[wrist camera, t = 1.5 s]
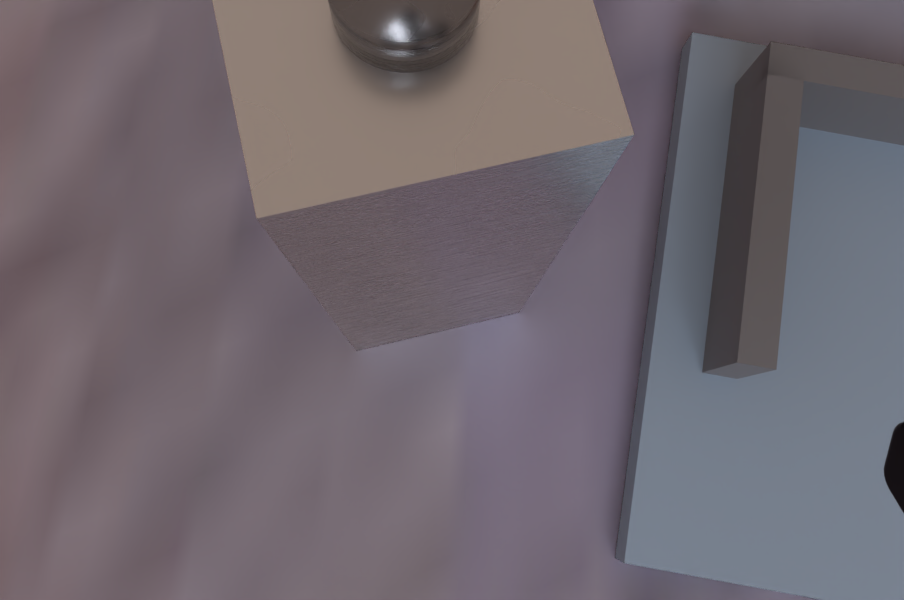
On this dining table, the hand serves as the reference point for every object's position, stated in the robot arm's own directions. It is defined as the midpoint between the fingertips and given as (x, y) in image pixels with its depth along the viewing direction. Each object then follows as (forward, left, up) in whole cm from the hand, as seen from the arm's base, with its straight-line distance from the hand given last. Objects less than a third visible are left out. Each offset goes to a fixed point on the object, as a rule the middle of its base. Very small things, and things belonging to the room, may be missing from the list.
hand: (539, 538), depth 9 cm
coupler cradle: (+10, -8, -13) cm, 18 cm away
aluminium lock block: (+6, +5, -13) cm, 15 cm away
